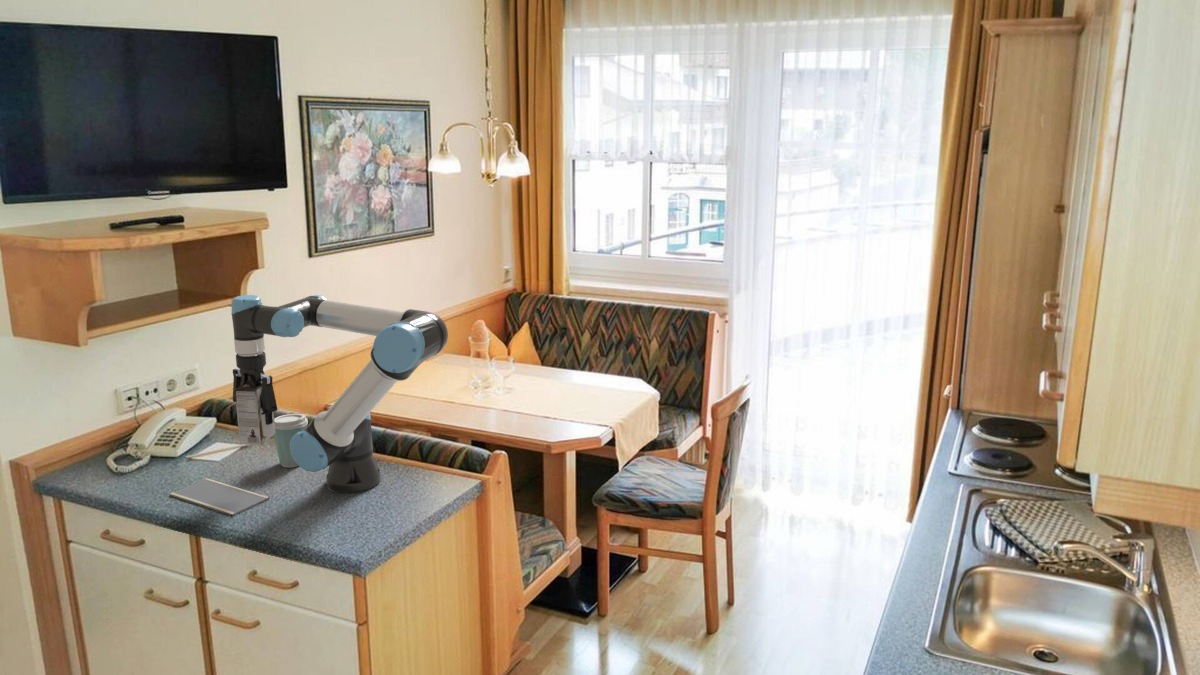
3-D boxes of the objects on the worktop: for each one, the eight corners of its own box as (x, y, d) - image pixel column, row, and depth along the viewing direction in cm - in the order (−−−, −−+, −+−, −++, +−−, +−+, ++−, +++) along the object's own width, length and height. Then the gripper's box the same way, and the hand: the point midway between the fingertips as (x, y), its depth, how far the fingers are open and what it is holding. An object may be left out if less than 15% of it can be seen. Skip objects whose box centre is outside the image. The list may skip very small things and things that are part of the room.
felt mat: (269, 499, 249) (269, 497, 249) (232, 516, 239) (232, 514, 239) (207, 480, 261) (206, 478, 261) (169, 495, 251) (169, 493, 251)
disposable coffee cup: (266, 465, 272) (261, 418, 268) (295, 454, 280) (291, 408, 277) (290, 473, 266) (286, 425, 262) (319, 461, 275) (315, 414, 271)
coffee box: (254, 432, 255) (249, 378, 251) (276, 433, 255) (271, 379, 251) (239, 444, 247) (234, 388, 242) (261, 445, 246) (257, 390, 242)
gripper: (288, 356, 242) (293, 435, 248) (237, 343, 253) (244, 419, 259) (264, 362, 236) (270, 443, 242) (213, 349, 247) (221, 426, 253)
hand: (257, 430), depth 250 cm, fingers closed on coffee box, 8 cm apart
